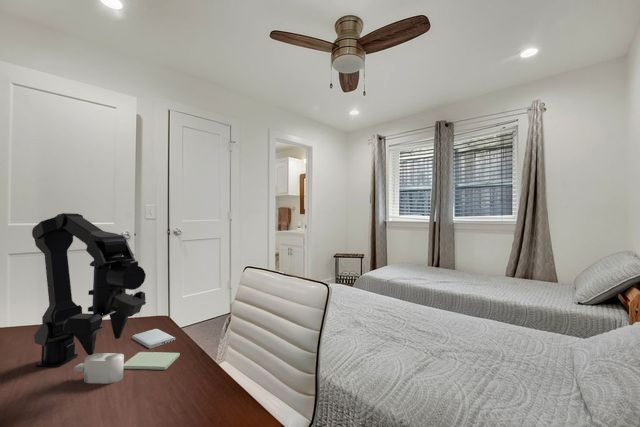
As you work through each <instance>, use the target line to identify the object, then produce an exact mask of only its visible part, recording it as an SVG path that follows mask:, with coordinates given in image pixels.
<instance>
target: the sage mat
mask: <svg viewBox="0 0 640 427" xmlns="http://www.w3.org/2000/svg"><path fill="white" fill-rule="evenodd" d="M180 354H181V353H180V352H160V351H159V352H158V351H157V352H155V351H139V352H137V353H136V354H135V355H134V356H132V357H131V358H129V359H128V360H127V361H125V362H124V367H123V370H125V369H126V370H128V369H129V370H132V369H133V370H137V369H138V370H164V371H165V370H166V369H168V368H169V367H170V366H171V365H172V364H173V363H174V362H175V361H176V360H177V359H178V358H179V357H180Z"/></svg>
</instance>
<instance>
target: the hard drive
mask: <svg viewBox="0 0 640 427" xmlns="http://www.w3.org/2000/svg"><path fill="white" fill-rule="evenodd" d="M131 337H132V338H131V339H132V340H134V341H136V342H138V343H139V344H141V345H142V346H145V347H146V348H148V349H153V348H156V347H159V346H161V345H165V344H168V343H171V342H174V341H176V337H175V336H173V335H171V334H168V333H166V332H164V331H162V330H160V329H158V328H153V329H151V330H150V329H149V330H147V331H143V332H139V333H136V334H134V335H132V336H131ZM173 340H174V341H173ZM170 341H171V342H170ZM167 342H168V343H167ZM164 343H165V344H164Z"/></svg>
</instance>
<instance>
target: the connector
mask: <svg viewBox="0 0 640 427" xmlns="http://www.w3.org/2000/svg"><path fill="white" fill-rule="evenodd" d="M124 361H125V355H124V353H114V352H110V353H109V352H98V353H94V354H93V355H87V356H86V357H85V358H84V362H83V363H82V362H81V363H79V364H77V365H75V366H73V372H83V382H84V383H86V384H108V385H109V384H115V383H117V382H120V381H121V380H122V379H123V378H124V369H123V367H124V363H125V362H124Z"/></svg>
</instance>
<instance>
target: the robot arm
mask: <svg viewBox="0 0 640 427" xmlns="http://www.w3.org/2000/svg"><path fill="white" fill-rule="evenodd" d="M31 230H32V231H31V235H32V238H33V239H34V243H35V247H36V248H38V250H39V251H41V252H42V254H44V263H45V274H46V283H47V293H48V294H47V296H48V307H47V308H46V310H45V312H44V314H43V316H42V317H41V322H42V323H41V325H40V327H39V328H38V329H37V331H36V332H35V334H34V335H33V339H34V342H35V344H36V345H39V346H41V357H40V358H41V360H40V361H38V362H36V363H35V367H57V368H58V367H61V366H63V365H64V364H65V363H67V362H69V361H71V360H73V359H75V358H76V357H78V355H79V354H78V353H75V350H76V342H75V338H76V339H77V340H78V342H79V343H80V344H81V347H82V348H83V349H84V351H85V353H86V354H87V356H89V355H93V354H95V353H94V352H95V349H96V342H97V341H96V340H97V335H98V333H99V332H100V331H101V330H102V329H103V326H101V325H102V323H103V319H104V318H105V317H107V316H109V320H110V324H111V328H112V333H113V336H114V339H115V340H118V339H121V336H122V333H123V331H124V328H125V326H126V323H127V321H128V319H129V317H133V316H134V315H135V314H138V313H140V312H141V309H142V307H143V306H144V305H146V304H147V301H146V292H144V291H141V290H139V291H137V292H135V293H134V294H133V293H131V294H129V293H127V292H126V291H127V290H129V291H130V290H131V291H133V290H137V289H139V288H140V287H142V286H143V284H144V282H145V281H146V274H147V273H146V272H145V270H144V268H143V267H141V266H140V265H139V261H138V260H136V259H135V257H134V256H135V254H134V253H133V251H132V249H131V247H130V245H129V243H128V241H127V239H126V237H124V236H123V235H121V234H118V233H117V232H116V233H114V232H111V231H110V232H109V231H105V230H102V229H101V228H100V227H98V226H96V225H95V224H94V223H92V222H91V221H89V220H88V219H86V218H84V216H83V215H82V214H79V213H74V212H73V213H71V212H69V213H68V212H67V213H66V212H64V213H63V212H62V213H59V214H57V215H55V216H53V217H51V218H47V219H44V220H42V221H40V222H38V223H37V224H36V225H35V226H34V227H33V228H32V229H31ZM74 237H75V238H76V239H78V240H80V241H81V242H82V243H84V244H85V245H86V248H85V251H86V252H87V253H88V254H89V255H90V257H92V258H93V261H91V262H90V263H89V266H90V267H93V282H92V283H93V285H92V286H93V287H92V289H90V290H88V291H87V292H88V294H87V295H88V296H92V305H91V306H89V307H88V306H87V312H88V313H84V312H83V307H82V306H81V305H80V304H79V305H77V304H76V303H75V302H74V301H73V297H72V296H73V295H72V286H71V276H70V267H69V256H68V250H69V249H70V247H71V245H72V244H73V242H74ZM89 312H92V313H89Z"/></svg>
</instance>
